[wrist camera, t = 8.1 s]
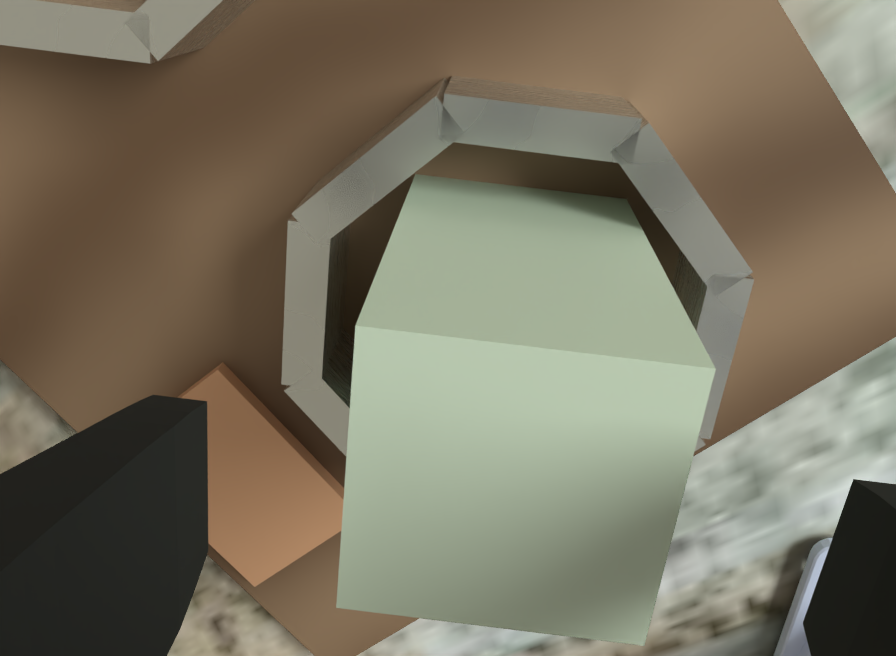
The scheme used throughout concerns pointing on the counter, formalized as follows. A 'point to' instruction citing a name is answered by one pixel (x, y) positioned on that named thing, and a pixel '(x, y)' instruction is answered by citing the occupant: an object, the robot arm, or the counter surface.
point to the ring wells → (398, 157)
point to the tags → (261, 482)
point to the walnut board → (345, 130)
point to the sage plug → (518, 415)
